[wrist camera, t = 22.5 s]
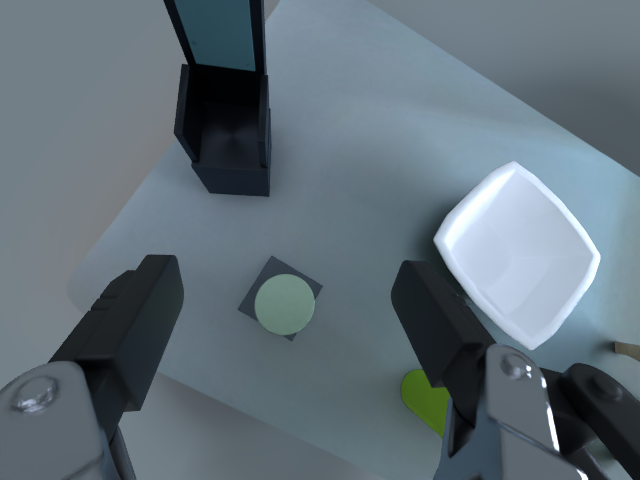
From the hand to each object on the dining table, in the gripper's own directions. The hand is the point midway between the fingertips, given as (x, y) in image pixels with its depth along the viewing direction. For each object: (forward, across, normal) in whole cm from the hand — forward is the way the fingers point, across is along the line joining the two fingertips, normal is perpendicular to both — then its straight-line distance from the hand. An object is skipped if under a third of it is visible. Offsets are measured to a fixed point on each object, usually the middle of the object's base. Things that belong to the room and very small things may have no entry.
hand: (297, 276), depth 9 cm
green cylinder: (+20, +1, -22) cm, 30 cm away
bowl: (+25, +35, -17) cm, 46 cm away
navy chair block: (+36, -6, -7) cm, 37 cm away
